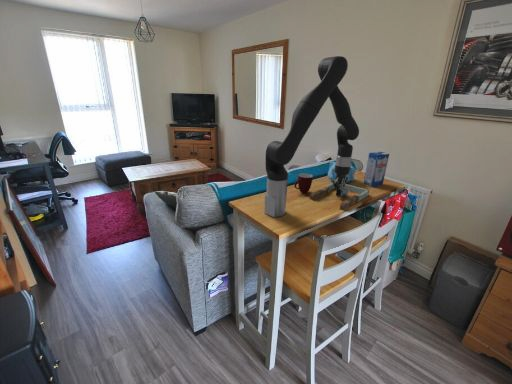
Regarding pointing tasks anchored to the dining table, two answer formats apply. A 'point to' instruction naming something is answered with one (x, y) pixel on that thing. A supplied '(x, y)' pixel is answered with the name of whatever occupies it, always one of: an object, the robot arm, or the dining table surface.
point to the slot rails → (342, 205)
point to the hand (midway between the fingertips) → (338, 195)
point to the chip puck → (343, 193)
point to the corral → (353, 190)
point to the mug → (304, 182)
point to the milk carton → (376, 168)
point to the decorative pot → (333, 175)
